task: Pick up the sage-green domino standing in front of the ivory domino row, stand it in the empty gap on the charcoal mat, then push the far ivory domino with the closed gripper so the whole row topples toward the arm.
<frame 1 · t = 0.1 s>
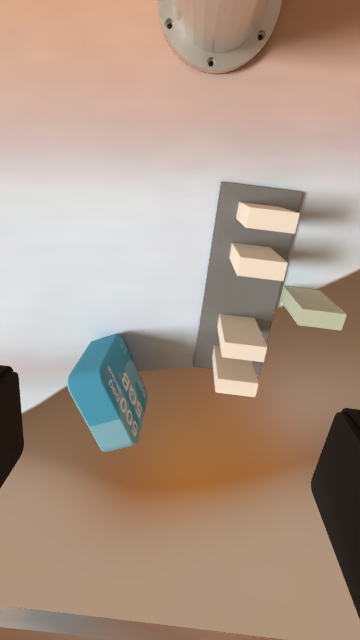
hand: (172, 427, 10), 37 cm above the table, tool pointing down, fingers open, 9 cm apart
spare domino: (299, 294, 46), on the table
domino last: (257, 212, 42), resting on domino mat
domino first: (229, 353, 49), resting on domino mat
data package: (121, 366, 52), on the table
domino 4: (249, 252, 44), resting on domino mat
domino mat: (241, 287, 46), on the table
domino 2: (235, 322, 48), resting on domino mat
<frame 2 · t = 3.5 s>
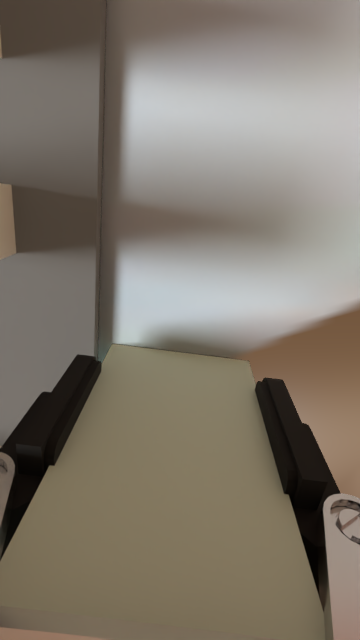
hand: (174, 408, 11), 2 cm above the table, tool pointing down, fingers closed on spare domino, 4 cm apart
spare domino: (177, 375, 13), on the table, touching gripper
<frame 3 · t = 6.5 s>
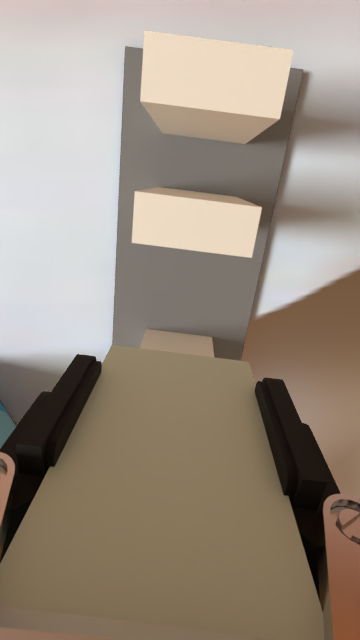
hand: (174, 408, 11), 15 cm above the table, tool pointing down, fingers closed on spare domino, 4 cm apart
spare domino: (177, 376, 13), point 13 cm above the table, touching gripper
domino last: (206, 119, 20), resting on domino mat
domino 4: (195, 208, 22), resting on domino mat
domino mat: (185, 280, 24), on the table
domino 2: (177, 344, 26), resting on domino mat
when the fingers open (3 cm above the table, at t = 9.3 s): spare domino stays where it is, resting on domino mat.
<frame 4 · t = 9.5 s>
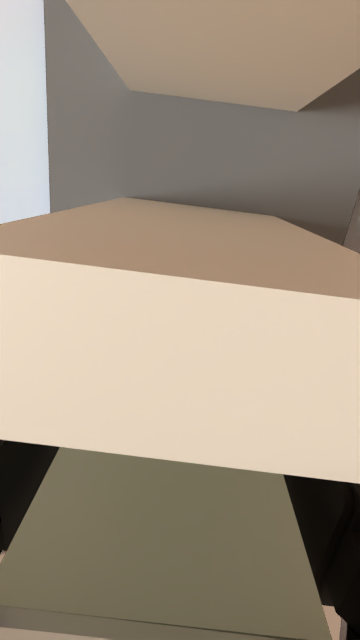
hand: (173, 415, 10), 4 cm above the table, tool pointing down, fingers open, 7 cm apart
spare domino: (178, 363, 13), resting on domino mat
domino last: (218, 60, 10), resting on domino mat
domino 4: (195, 237, 11), resting on domino mat
domino mat: (179, 357, 14), on the table
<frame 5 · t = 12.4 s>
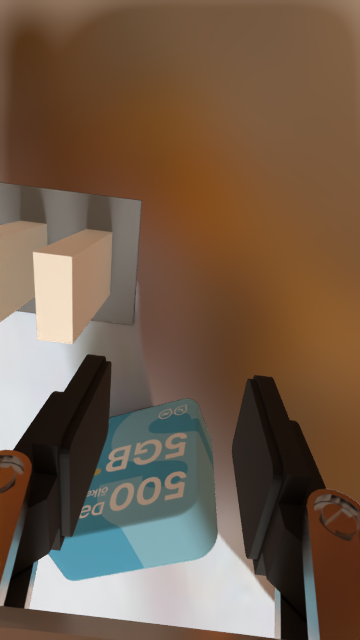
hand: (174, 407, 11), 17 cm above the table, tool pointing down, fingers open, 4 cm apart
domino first: (98, 262, 26), resting on domino mat
data package: (147, 425, 33), on the table
domino 2: (35, 254, 26), resting on domino mat
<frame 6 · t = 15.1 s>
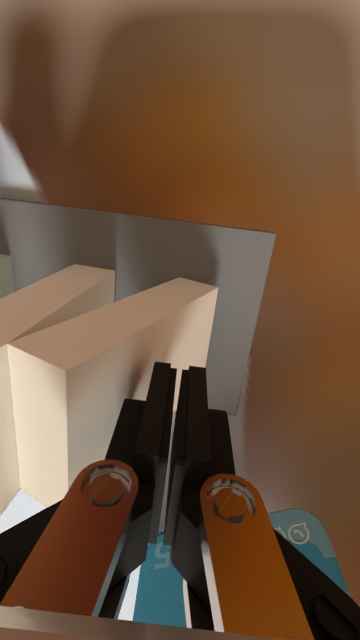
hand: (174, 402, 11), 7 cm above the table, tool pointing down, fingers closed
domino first: (191, 331, 16), point 1 cm above the table, tilted 26°, touching domino mat
data package: (234, 537, 24), on the table
domino mat: (0, 299, 17), on the table
domino 2: (94, 316, 17), point 1 cm above the table, tilted 7°, touching domino mat
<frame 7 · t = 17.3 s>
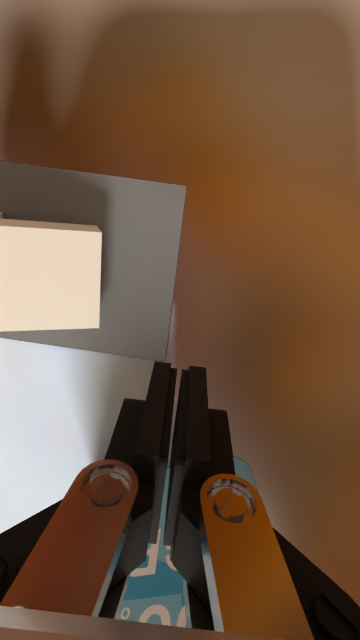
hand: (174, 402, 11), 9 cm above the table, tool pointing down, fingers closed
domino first: (97, 277, 18), point 1 cm above the table, tilted 66°, touching domino 2, domino mat
data package: (176, 486, 25), on the table
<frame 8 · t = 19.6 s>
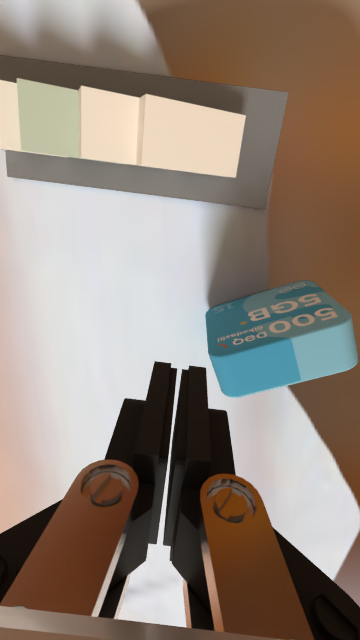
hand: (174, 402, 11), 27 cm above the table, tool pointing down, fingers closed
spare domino: (127, 134, 31), point 1 cm above the table, tilted 67°, touching domino 2, domino 4, domino mat
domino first: (235, 147, 31), point 1 cm above the table, tilted 66°, touching domino 2, domino mat
data package: (260, 310, 39), on the table
domino 4: (66, 127, 31), point 1 cm above the table, tilted 63°, touching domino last, domino mat, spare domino
domino mat: (140, 137, 32), on the table
domino 2: (181, 140, 31), point 1 cm above the table, tilted 66°, touching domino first, domino mat, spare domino
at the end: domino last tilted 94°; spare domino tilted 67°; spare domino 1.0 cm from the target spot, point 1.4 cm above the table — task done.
